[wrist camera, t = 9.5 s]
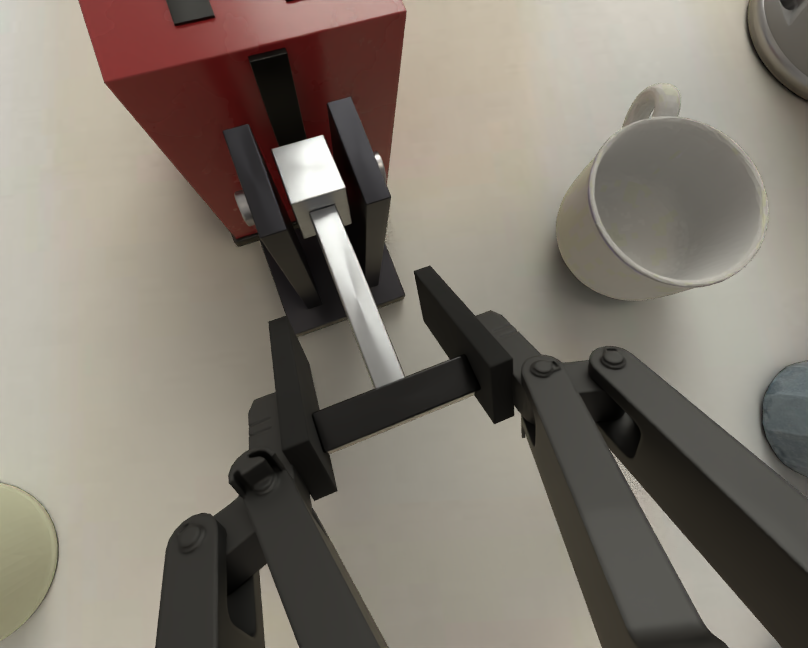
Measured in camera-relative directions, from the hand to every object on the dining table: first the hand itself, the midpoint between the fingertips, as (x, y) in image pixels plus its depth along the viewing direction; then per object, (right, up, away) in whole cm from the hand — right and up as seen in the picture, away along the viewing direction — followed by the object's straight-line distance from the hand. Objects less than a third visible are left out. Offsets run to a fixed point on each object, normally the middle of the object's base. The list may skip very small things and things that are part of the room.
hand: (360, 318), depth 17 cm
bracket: (-3, +3, +11) cm, 12 cm away
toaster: (-7, +13, +12) cm, 19 cm away
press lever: (0, +1, -1) cm, 1 cm away
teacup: (+18, +7, +14) cm, 24 cm away
